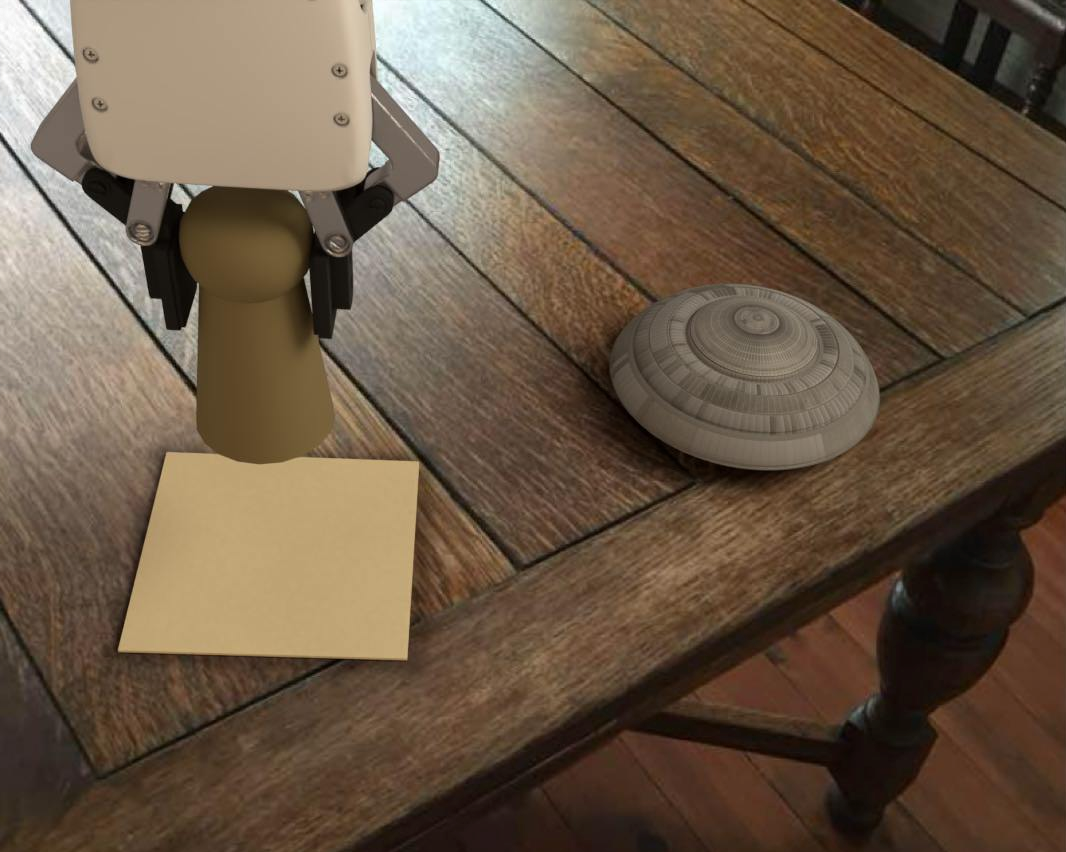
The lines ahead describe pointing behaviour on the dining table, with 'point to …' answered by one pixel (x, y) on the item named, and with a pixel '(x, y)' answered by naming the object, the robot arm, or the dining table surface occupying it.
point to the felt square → (277, 559)
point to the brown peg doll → (255, 325)
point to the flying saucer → (745, 377)
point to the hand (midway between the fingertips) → (254, 310)
